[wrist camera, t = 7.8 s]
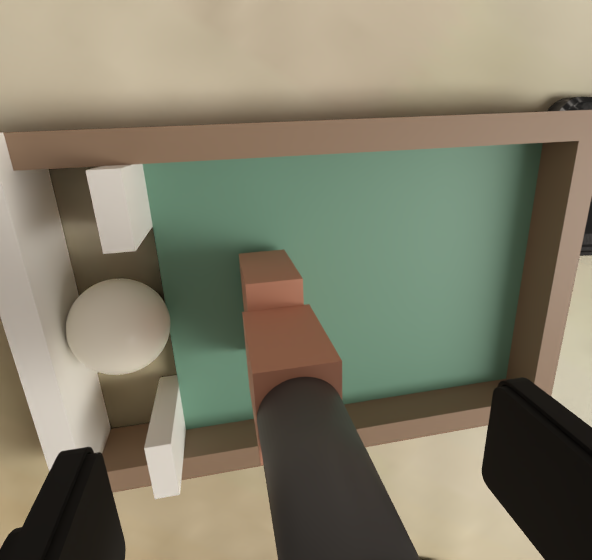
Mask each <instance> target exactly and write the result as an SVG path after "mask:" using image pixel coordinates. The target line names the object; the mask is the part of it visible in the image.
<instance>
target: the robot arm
mask: <svg viewBox="0 0 592 560" xmlns="http://www.w3.org/2000/svg"><path fill="white" fill-rule="evenodd" d="M482 476H483V479H484V482H485V484H486V485H487V487H488V488H489V489H490V491H491V492H492V493H493V494H494V496H495V497H496V498H497V499H498V501H499V502H500V503H501V504H502V506H503V507H504V508H505V510H506V511H507V512H508V513H509V515H510V516H511V517H512V518H513V520H514V521H515V522H516V524H517V525H518V526H519V527H520V529H521V530H522V531H523V532H524V534H525V535H526V536H527V537H528V539H529V540H530V541H531V543H532V544H533V545H534V546H535V548H536V549H537V550H538V551H539V553H540V554H541V555H542V557H543V558H544V559H545V560H592V427H590V426H589V425H588V424H586V423H585V422H584V421H582V420H581V419H580V418H578V417H577V416H576V415H575V414H573V413H572V412H571V411H569V410H568V409H567V408H565V407H564V406H563V405H561V404H560V403H559V402H558V401H556V400H555V399H554V398H552V397H551V396H550V395H548V394H547V393H546V392H544V391H543V390H542V389H541V388H539V387H538V386H537V385H535V384H534V383H533V382H531V381H530V380H529V379H527V378H523V377H521V378H515V379H508V380H503V381H500V383H499V384H498V387H497V388H495V389H494V391H493V396H492V403H491V409H490V416H489V423H488V430H487V437H486V444H485V451H484V458H483V465H482ZM0 560H125V540H124V536H123V532H122V528H121V525H120V521H119V517H118V513H117V509H116V505H115V501H114V497H113V493H112V489H111V485H110V481H109V478H108V474H107V470H106V466H105V462H104V458H103V455H102V453H101V452H97V453H94V451H93V449H92V448H91V447H84V448H78V449H71V450H65V451H61V452H60V453H59V454H58V456H57V457H56V459H55V461H54V463H53V465H52V467H51V469H50V472H49V474H48V476H47V478H46V480H45V482H44V484H43V486H42V488H41V490H40V492H39V494H38V496H37V498H36V500H35V502H34V504H33V506H32V508H31V510H30V512H29V514H28V516H27V518H26V520H25V522H24V525H23V527H21V528H16V529H14V530H13V531H12V532H11V533H10V534H9V535H8V537H7V538H6V540H5V541H4V543H3V545H2V547H1V549H0Z"/></svg>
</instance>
